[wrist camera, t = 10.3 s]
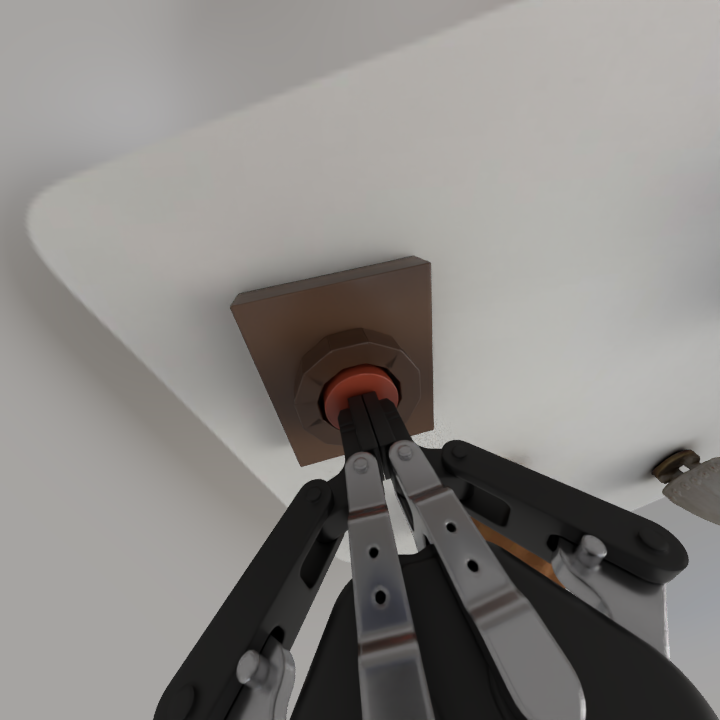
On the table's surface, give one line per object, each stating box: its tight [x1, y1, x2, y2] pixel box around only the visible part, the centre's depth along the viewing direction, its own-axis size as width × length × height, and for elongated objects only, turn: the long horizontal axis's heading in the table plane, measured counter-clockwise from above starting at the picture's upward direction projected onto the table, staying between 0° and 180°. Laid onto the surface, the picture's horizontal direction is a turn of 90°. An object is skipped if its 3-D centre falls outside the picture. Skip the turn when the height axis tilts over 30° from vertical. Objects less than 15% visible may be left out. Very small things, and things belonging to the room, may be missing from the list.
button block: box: [230, 256, 434, 467], centre depth 16 cm, size 12×10×4 cm
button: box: [322, 363, 398, 429], centre depth 15 cm, size 4×4×2 cm
